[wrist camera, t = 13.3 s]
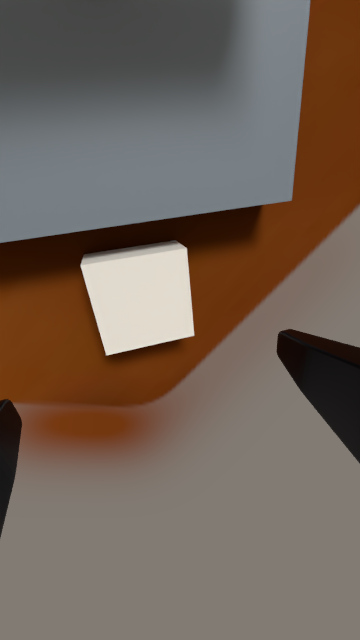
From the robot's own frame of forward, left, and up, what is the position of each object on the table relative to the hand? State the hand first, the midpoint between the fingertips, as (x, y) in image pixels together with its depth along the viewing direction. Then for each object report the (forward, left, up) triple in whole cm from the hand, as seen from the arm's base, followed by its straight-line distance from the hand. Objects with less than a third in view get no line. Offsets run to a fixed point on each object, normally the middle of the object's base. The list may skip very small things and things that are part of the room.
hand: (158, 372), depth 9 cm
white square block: (0, 0, -8) cm, 8 cm away
